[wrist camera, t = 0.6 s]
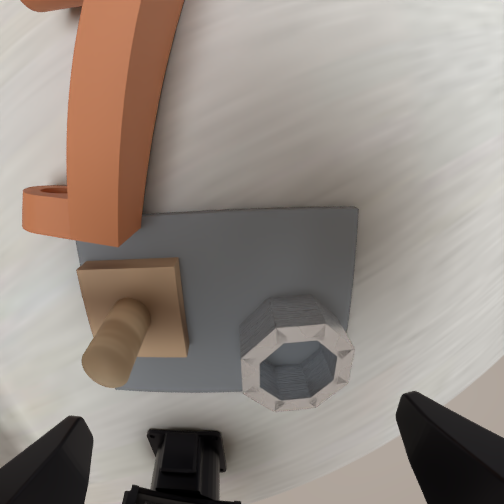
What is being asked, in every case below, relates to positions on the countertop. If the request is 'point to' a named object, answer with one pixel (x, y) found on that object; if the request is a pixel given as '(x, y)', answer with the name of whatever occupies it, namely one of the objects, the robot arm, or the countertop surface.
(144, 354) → the tan stamp
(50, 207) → the crank
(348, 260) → the mat
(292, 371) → the collar
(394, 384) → the countertop surface
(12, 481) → the robot arm
